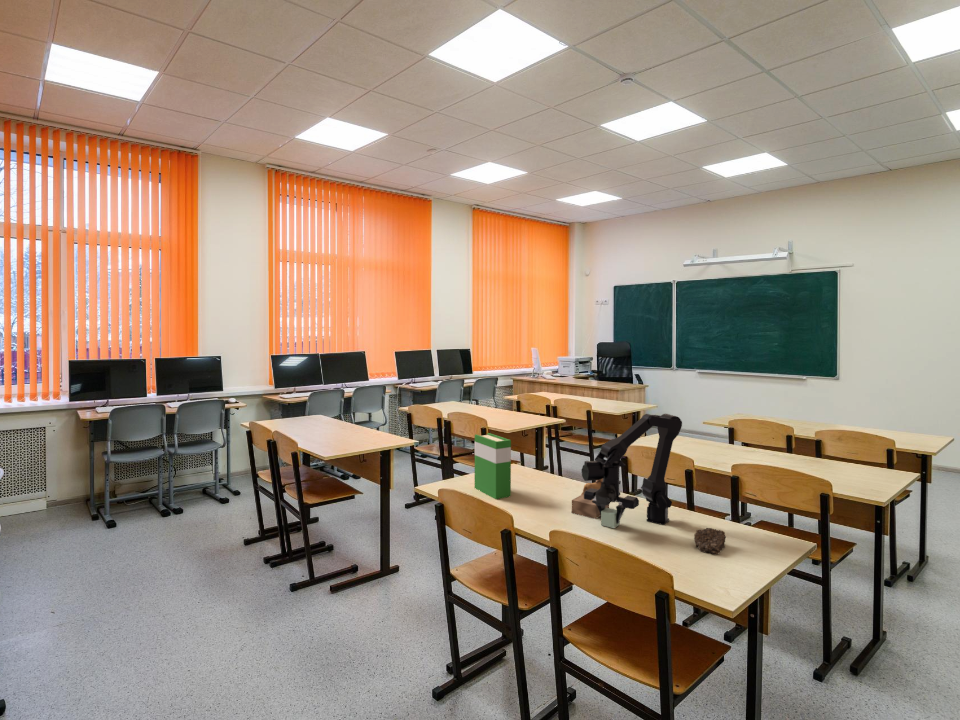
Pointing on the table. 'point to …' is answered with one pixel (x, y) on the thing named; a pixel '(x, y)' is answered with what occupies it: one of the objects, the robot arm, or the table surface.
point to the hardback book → (493, 465)
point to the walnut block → (585, 507)
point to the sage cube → (609, 518)
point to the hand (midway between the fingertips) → (610, 521)
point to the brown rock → (710, 540)
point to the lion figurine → (592, 485)
